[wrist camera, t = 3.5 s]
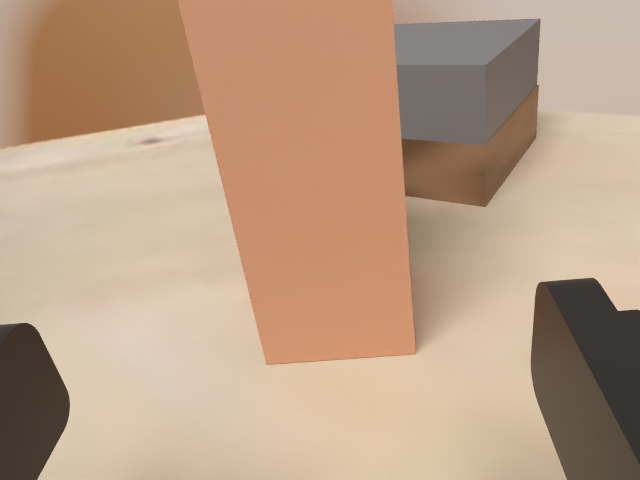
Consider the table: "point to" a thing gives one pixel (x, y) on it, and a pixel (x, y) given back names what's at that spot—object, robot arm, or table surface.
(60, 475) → the table surface
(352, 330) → the pillar
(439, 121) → the slab top
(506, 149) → the slab bottom
